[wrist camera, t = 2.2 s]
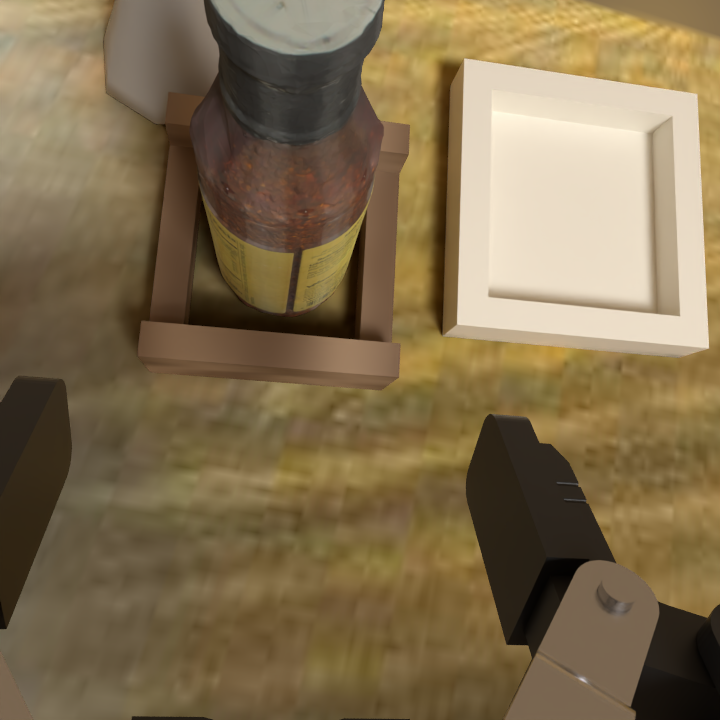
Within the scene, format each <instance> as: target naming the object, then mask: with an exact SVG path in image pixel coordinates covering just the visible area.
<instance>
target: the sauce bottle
mask: <svg viewBox="0 0 720 720" xmlns="http://www.w3.org/2000/svg"><path fill="white" fill-rule="evenodd" d="M384 1H385V0H204V8H205V13H206V18H207V23H208V25H209V27H210V29H211V32H212V35H213V38H214V39H215V41H216V42H217V44H218V48H219V63H218V70H219V72H218V74H217V76H216V78H215V80H214V82H213V84H212V85H211V87H210V89H209V91H208V93H207V95H206V96H205V98H204V99H203V100H202V102H201V103H200V104H199V105H198V106H197V107H196V109H195V111H194V113H193V115H192V118H191V122H190V130H189V133H190V137H191V141H192V145H193V149H194V153H195V159H196V163H197V176H198V182H199V186H200V190H201V194H202V198H203V203H204V206H205V210H206V214H207V218H208V222H209V226H210V230H211V235H212V239H213V243H214V247H215V252H216V256H217V260H218V264H219V267H220V270H221V274H222V276H223V278H224V279H225V281H226V282H227V284H228V285H229V286H230V288H231V289H232V290H233V291H234V292H235V293H236V294H237V296H238V298H239V299H240V300H241V301H242V302H243V303H244V304H245V305H246V306H248V307H251V308H254V309H256V310H258V311H260V312H262V313H267V314H272V315H276V316H284V317H295V316H299V315H302V314H305V313H308V312H309V311H311V310H314V309H315V308H316V307H318V306H319V305H320V304H321V303H323V302H324V301H325V300H327V299H328V298H329V297H330V296H332V294H333V293H334V291H335V290H336V288H337V287H338V285H339V284H340V282H341V281H342V279H343V277H344V275H345V272H346V270H347V267H348V264H349V261H350V258H351V255H352V252H353V248H354V245H355V242H356V239H357V236H358V233H359V230H360V227H361V224H362V221H363V218H364V215H365V212H366V209H367V206H368V203H369V201H370V198H371V195H372V191H373V187H374V179H375V171H376V168H377V166H378V162H379V155H380V150H381V144H382V139H383V136H384V126H383V124H382V123H381V121H380V120H379V119H378V118H377V116H376V114H375V112H374V110H373V108H372V106H371V104H370V102H369V100H368V98H367V96H366V94H365V92H364V90H363V88H362V86H361V84H362V83H361V72H362V65H363V61H364V58H365V57H366V56H367V55H368V54H369V53H370V51H371V50H372V48H373V46H374V45H375V43H376V41H377V39H378V37H379V34H380V31H381V28H382V19H383V11H384Z"/></svg>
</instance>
